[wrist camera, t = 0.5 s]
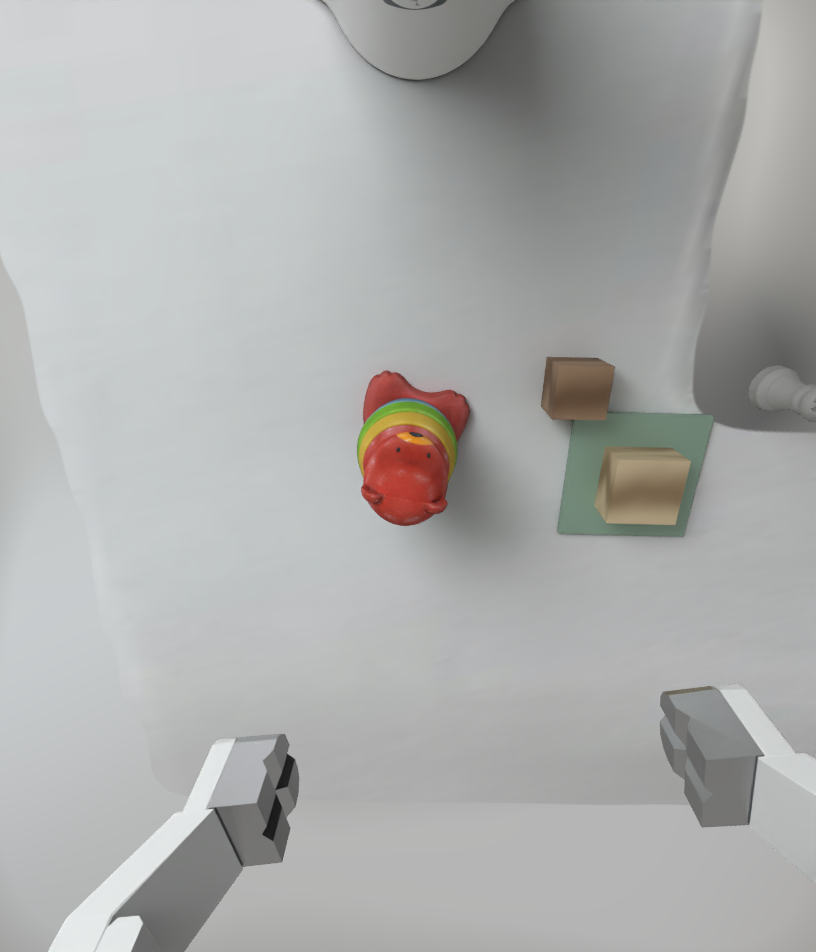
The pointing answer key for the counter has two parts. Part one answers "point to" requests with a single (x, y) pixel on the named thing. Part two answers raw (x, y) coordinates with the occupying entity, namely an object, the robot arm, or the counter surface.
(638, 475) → the oak base block
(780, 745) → the robot arm
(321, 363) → the counter surface
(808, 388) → the rook chess piece
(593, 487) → the build pad
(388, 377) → the stacking bear
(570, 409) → the walnut cube
